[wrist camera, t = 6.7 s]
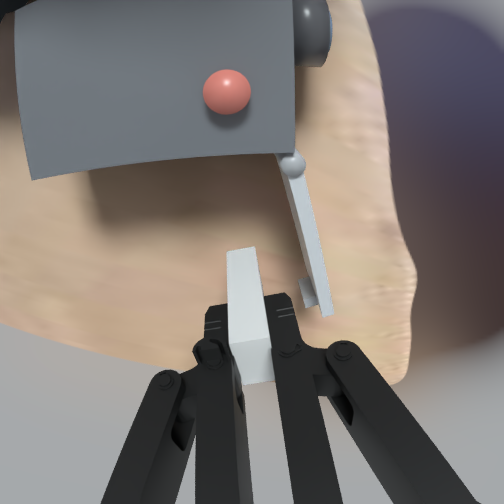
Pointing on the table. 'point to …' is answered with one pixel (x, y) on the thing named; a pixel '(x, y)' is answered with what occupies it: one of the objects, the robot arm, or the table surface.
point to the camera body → (160, 78)
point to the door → (306, 232)
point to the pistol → (10, 6)
